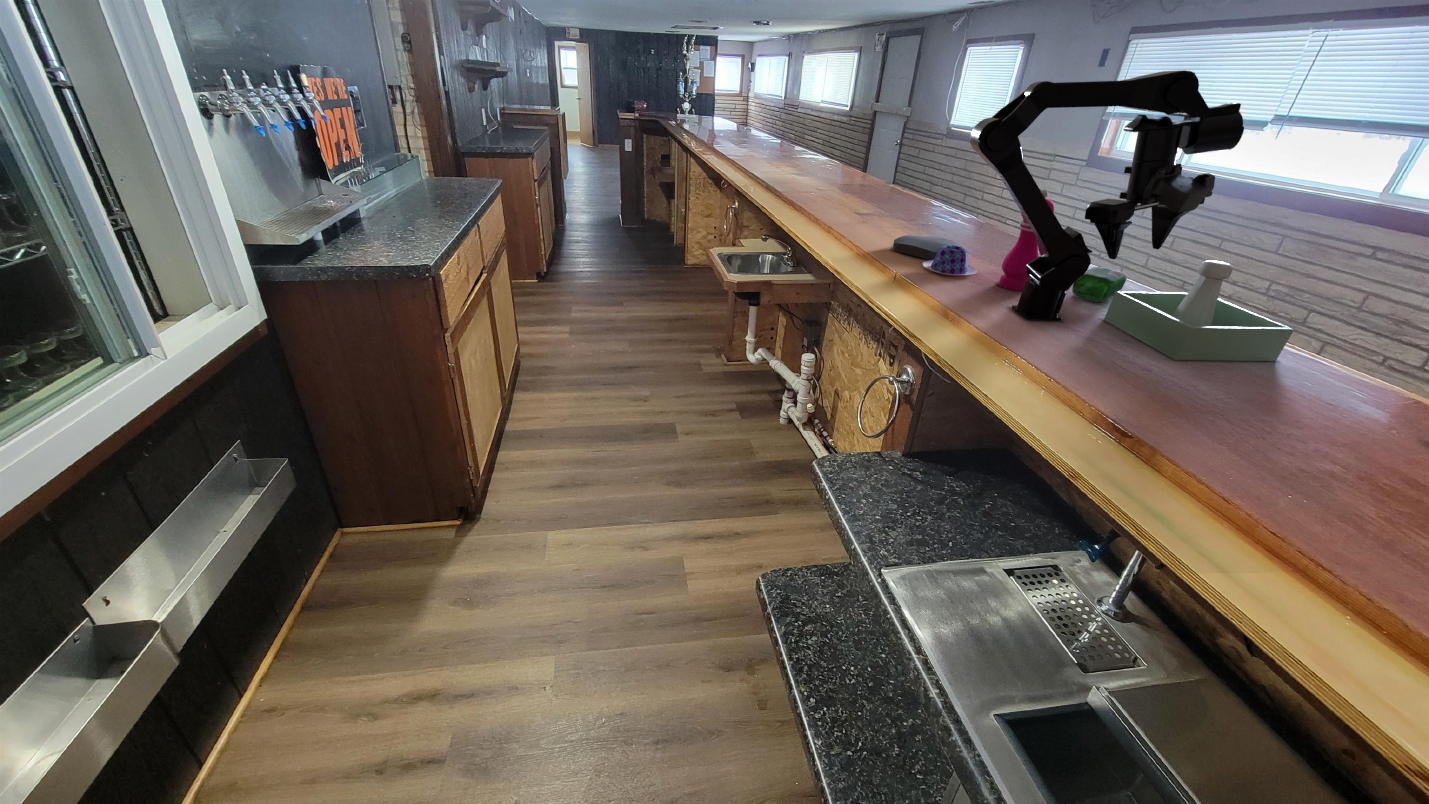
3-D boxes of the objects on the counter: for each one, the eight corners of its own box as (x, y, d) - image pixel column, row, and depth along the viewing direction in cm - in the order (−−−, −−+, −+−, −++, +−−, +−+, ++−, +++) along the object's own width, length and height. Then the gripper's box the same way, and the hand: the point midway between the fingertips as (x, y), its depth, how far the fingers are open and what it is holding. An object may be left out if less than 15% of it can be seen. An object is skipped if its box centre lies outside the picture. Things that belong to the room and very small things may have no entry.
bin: (1175, 360, 91) (1191, 327, 88) (1103, 319, 106) (1115, 291, 103) (1275, 361, 92) (1294, 329, 89) (1190, 321, 107) (1204, 292, 105)
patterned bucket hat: (951, 261, 138) (957, 240, 135) (987, 276, 128) (994, 253, 126) (911, 265, 134) (915, 242, 131) (945, 280, 124) (951, 256, 122)
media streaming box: (886, 250, 145) (888, 238, 144) (915, 242, 154) (917, 231, 152) (938, 263, 136) (941, 251, 135) (966, 254, 145) (969, 242, 143)
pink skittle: (1034, 285, 123) (1066, 189, 113) (1030, 294, 118) (1063, 194, 108) (999, 279, 127) (1026, 185, 117) (993, 287, 121) (1022, 189, 111)
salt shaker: (1178, 327, 102) (1212, 256, 96) (1211, 340, 98) (1250, 266, 91) (1156, 330, 100) (1189, 258, 94) (1189, 343, 96) (1226, 268, 89)
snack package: (1125, 293, 121) (1135, 269, 119) (1100, 307, 112) (1110, 282, 110) (1089, 285, 126) (1098, 261, 123) (1062, 298, 117) (1071, 273, 114)
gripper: (1152, 171, 83) (1131, 274, 91) (1253, 151, 86) (1225, 252, 94) (1089, 167, 93) (1075, 260, 100) (1182, 149, 96) (1161, 241, 103)
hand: (1134, 253), depth 99 cm, fingers open, 9 cm apart
